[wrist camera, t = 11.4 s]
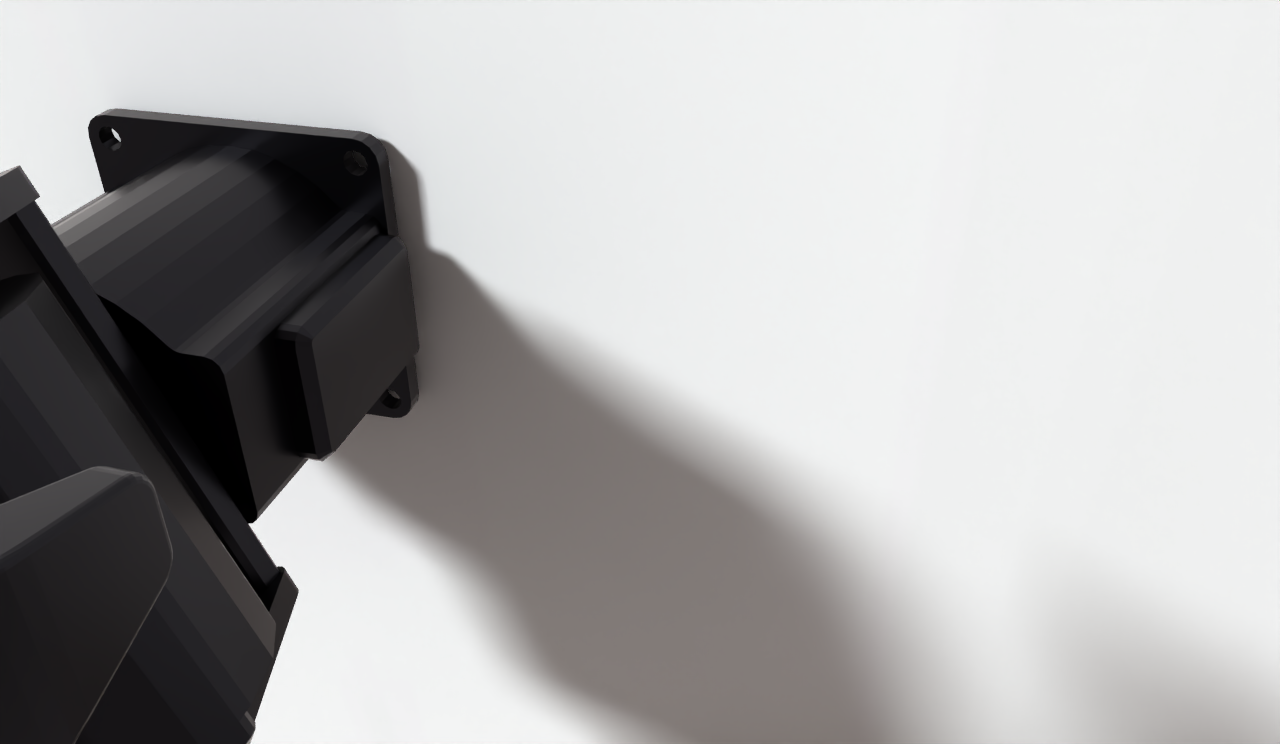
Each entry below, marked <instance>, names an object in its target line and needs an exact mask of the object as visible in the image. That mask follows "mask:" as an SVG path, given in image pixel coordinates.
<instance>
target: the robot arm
mask: <svg viewBox="0 0 1280 744" xmlns="http://www.w3.org/2000/svg"><path fill="white" fill-rule="evenodd" d="M112 128H113V129H114V130H115V131H116V132H117V133H118V134H119V136H120V138H121V142H120V141H118V140H117V139H116V138H115V137H114V135H113V133H112ZM88 131H89V138H90V142H91V145H92V149H93V152H94V156H95V159H96V163H97V167H98V170H99V174H100V177H101V181H102V184H103V188H104V191H105V193H104V194H102V195H101V196H99V197H97V198H96V199H94V200H92V201H90V202H89V203H87V204H85V205H84V206H82V207H80V208H79V209H77V210H75V211H74V212H72V213H70V214H69V215H67V216H65V217H63V218H62V219H60V220H58V221H57V222H55V223H53V224H52V225H51V224H50V223H49V221H48V220H47V218H46V217H45V215H44V214H43V212H42V211H41V209H40V208H39V206H38V205H37V203H36V202H35V200H36V199H37V198H39V197H40V196H39V194H38V192H37V191H36V189H35V188H34V186H33V185H32V183H31V182H30V180H29V179H28V177H27V176H26V174H25V173H24V171H23V170H22V168H21V167H20V166H17V167H14V168H11V169H9V170H6V171H4V172H1V173H0V744H250V742H251V740H252V737H253V734H254V731H255V719H256V716H257V713H258V710H259V707H260V704H261V701H262V698H263V695H264V692H265V689H266V686H267V683H268V681H269V678H270V675H271V672H272V669H273V666H274V663H275V660H276V657H277V654H278V651H279V648H280V645H281V643H282V640H283V637H284V634H285V631H286V628H287V625H288V622H289V619H290V616H291V613H292V610H293V607H294V604H295V602H296V599H297V596H298V591H299V590H298V588H297V587H296V585H295V584H294V582H293V581H292V579H291V578H290V576H289V574H288V573H287V571H286V570H285V568H283V567H276V565H275V564H274V562H273V560H272V559H271V557H270V556H269V554H268V553H267V551H266V550H265V548H264V547H263V545H262V544H261V542H260V541H259V539H258V538H257V536H256V535H255V533H254V532H253V530H252V529H251V527H250V526H249V524H248V523H253V522H254V521H256V520H257V519H258V518H259V516H260V515H261V514H262V513H263V512H264V511H265V509H266V508H267V507H268V506H269V505H270V504H271V502H272V501H273V500H274V499H275V498H276V496H277V495H278V494H279V493H280V492H281V491H282V489H283V488H284V487H285V486H286V485H287V484H288V482H289V481H290V480H291V479H292V478H293V477H294V475H295V474H296V473H297V472H298V471H299V470H300V468H301V467H302V466H303V465H304V464H305V463H306V461H307V460H308V459H312V460H318V461H324V460H325V459H327V458H328V457H329V456H330V455H331V454H332V453H334V452H335V451H336V450H337V448H338V447H339V446H340V445H341V443H342V442H343V441H344V440H345V439H346V437H347V436H348V435H349V434H350V433H351V431H352V430H353V429H354V428H355V427H356V425H357V424H358V423H359V422H360V421H361V419H362V418H363V417H364V416H365V414H372V415H379V416H385V417H392V418H401V417H403V416H405V415H407V414H408V412H409V411H410V410H411V409H412V407H413V406H414V405H415V403H416V402H417V400H418V395H419V391H418V383H417V375H416V368H415V360H414V355H415V354H416V353H417V352H418V350H419V340H418V332H417V325H416V317H415V309H414V301H413V293H412V285H411V277H410V270H409V262H408V254H407V248H406V247H405V245H404V244H403V242H402V241H401V239H400V238H399V237H398V230H397V222H396V215H395V207H394V200H393V192H392V184H391V177H390V169H389V161H388V156H387V153H386V150H385V148H384V147H383V145H382V144H381V142H380V141H379V140H378V139H376V138H375V137H374V136H372V135H371V134H368V133H365V132H361V131H350V130H340V129H329V128H318V127H308V126H297V125H286V124H276V123H265V122H254V121H244V120H233V119H222V118H212V117H201V116H190V115H180V114H169V113H158V112H148V111H137V110H126V109H109V110H107V111H105V112H103V113H101V114H99V115H97V116H95V117H94V118H93V119H92V120H91V121H90V124H89V127H88ZM353 151H356V152H359V153H361V154H362V155H363V156H364V157H365V159H366V162H367V164H368V166H367V168H364V167H361V166H360V165H359V164H358V163H357V162H356V161H355V159H354V157H353ZM388 389H390V390H392V391H395V392H396V393H397V394H398V395H399V397H400V399H398V398H395V397H393V396H392V395H391V394H390V393H389V390H388Z"/></svg>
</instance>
